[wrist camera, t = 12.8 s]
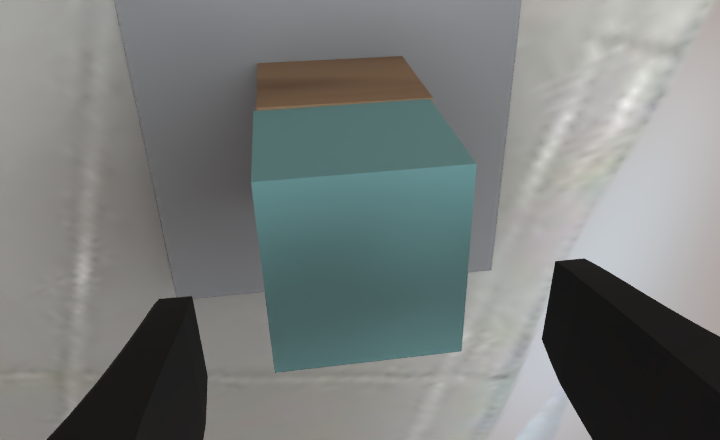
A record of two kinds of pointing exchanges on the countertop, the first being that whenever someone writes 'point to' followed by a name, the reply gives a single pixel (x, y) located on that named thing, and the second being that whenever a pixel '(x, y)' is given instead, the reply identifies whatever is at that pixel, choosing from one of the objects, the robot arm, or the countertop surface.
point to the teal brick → (361, 231)
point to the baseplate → (238, 101)
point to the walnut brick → (336, 82)
